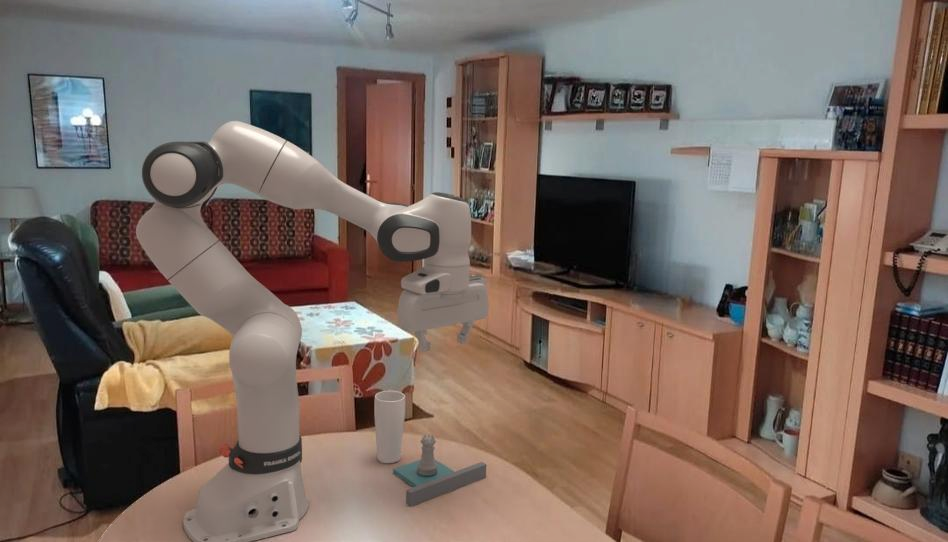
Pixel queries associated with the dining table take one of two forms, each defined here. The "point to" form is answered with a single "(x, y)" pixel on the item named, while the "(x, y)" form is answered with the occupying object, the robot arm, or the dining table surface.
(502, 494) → the dining table surface
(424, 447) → the rook chess piece
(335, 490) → the dining table surface
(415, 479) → the coaster
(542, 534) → the dining table surface
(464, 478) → the low wall
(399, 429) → the drinking glass
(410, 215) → the robot arm
